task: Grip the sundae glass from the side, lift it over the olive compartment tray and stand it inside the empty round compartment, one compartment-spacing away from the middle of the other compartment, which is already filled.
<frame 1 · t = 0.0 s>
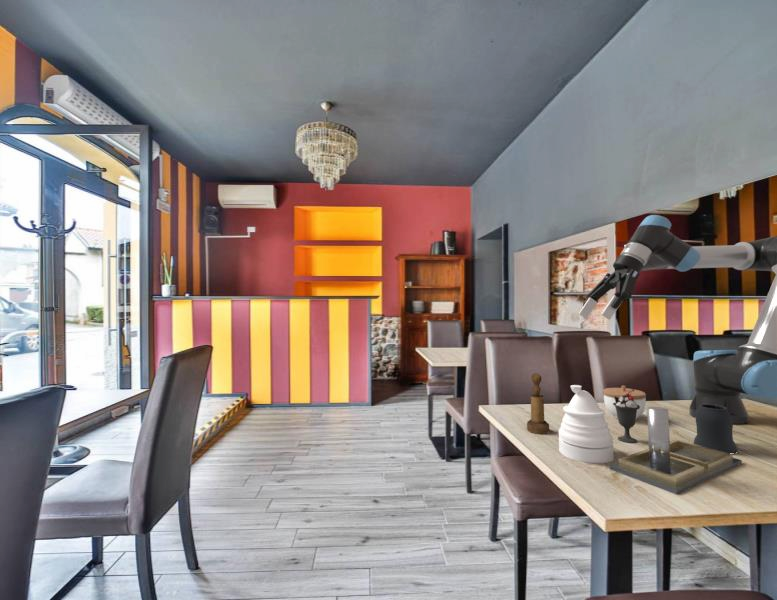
hand: (593, 316, 115), 36 cm above the table, tool tilted 35°, fingers open, 13 cm apart
mug: (716, 447, 101), on the table
honey pot: (585, 454, 99), on the table
sundae: (627, 440, 107), on the table
brown pedestal figurine: (538, 431, 117), on the table
lidded bowl: (624, 418, 128), on the table
olive compartment tray: (676, 466, 89), on the table
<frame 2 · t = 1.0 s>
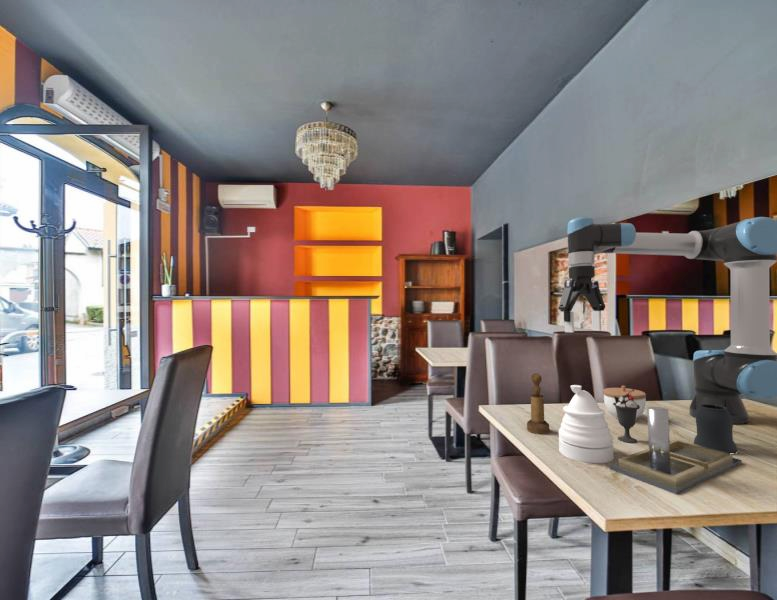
hand: (583, 331, 119), 31 cm above the table, tool pointing down, fingers open, 13 cm apart
nothing on the table moved.
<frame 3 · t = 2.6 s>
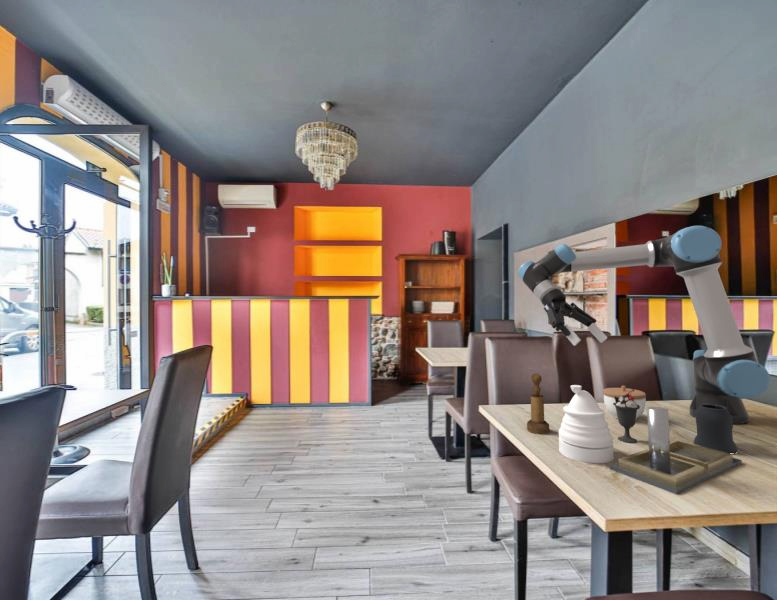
hand: (591, 341, 117), 28 cm above the table, tool tilted 45°, fingers open, 13 cm apart
nothing on the table moved.
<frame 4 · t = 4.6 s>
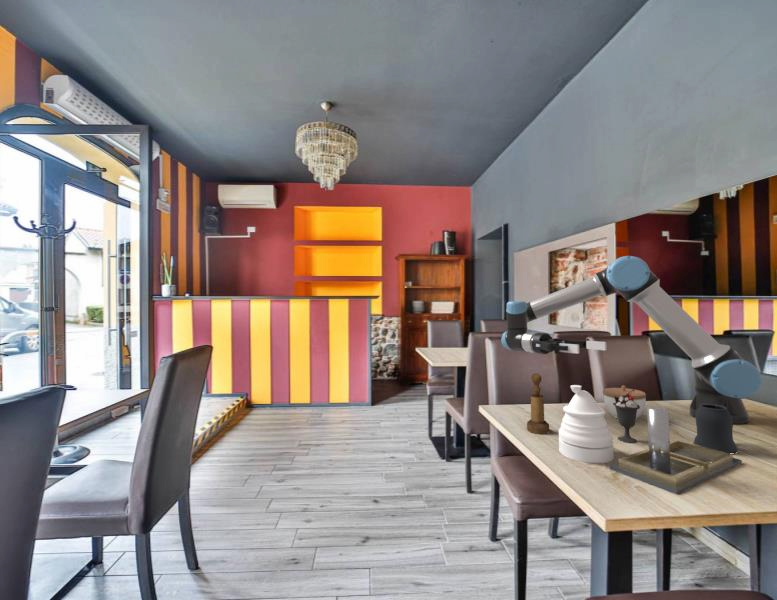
hand: (592, 347, 117), 26 cm above the table, tool horizontal, fingers open, 13 cm apart
nothing on the table moved.
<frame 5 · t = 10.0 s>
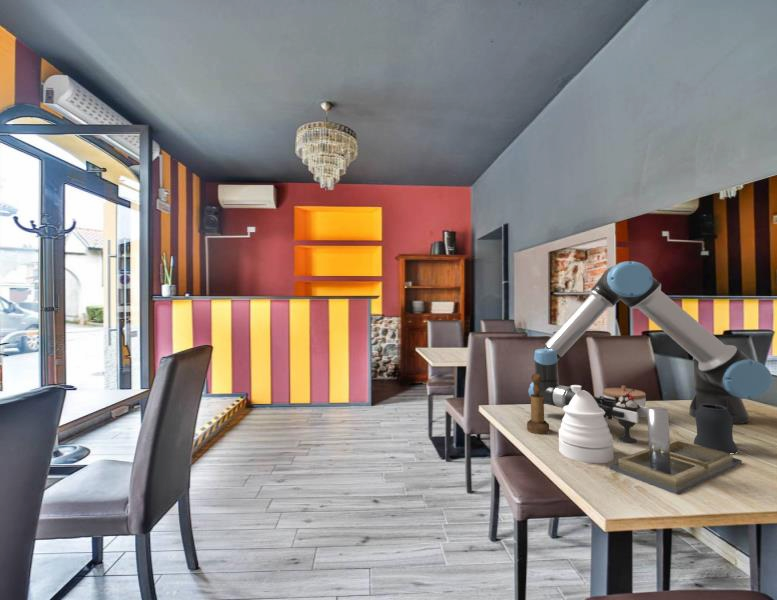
hand: (644, 415, 103), 8 cm above the table, tool horizontal, fingers closed on sundae, 7 cm apart
sundae: (627, 440, 107), on the table, touching gripper
everything else where it was.
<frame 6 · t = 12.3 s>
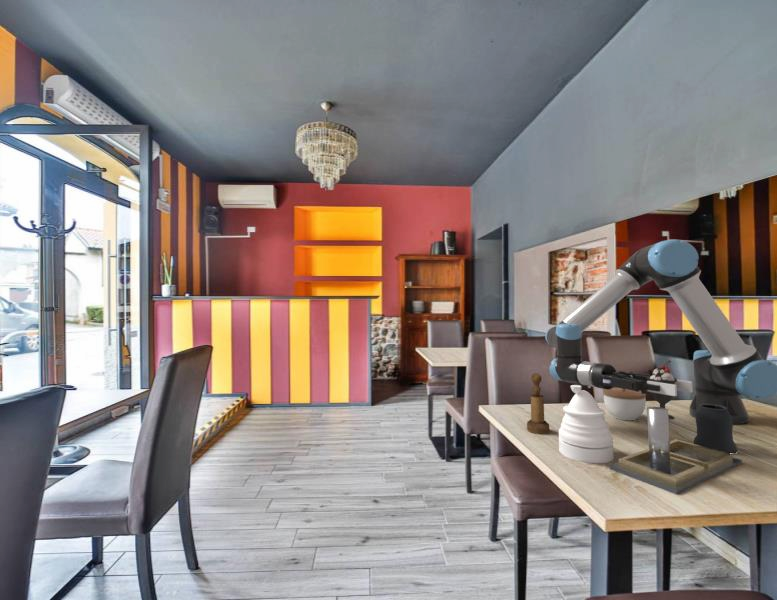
hand: (683, 388, 93), 18 cm above the table, tool horizontal, fingers closed on sundae, 7 cm apart
sundae: (663, 417, 98), point 9 cm above the table, touching gripper
everything else where it was.
when the fingers open (11 cm above the table, at t = 14.9 s): sundae drops 1 cm, resting on olive compartment tray.
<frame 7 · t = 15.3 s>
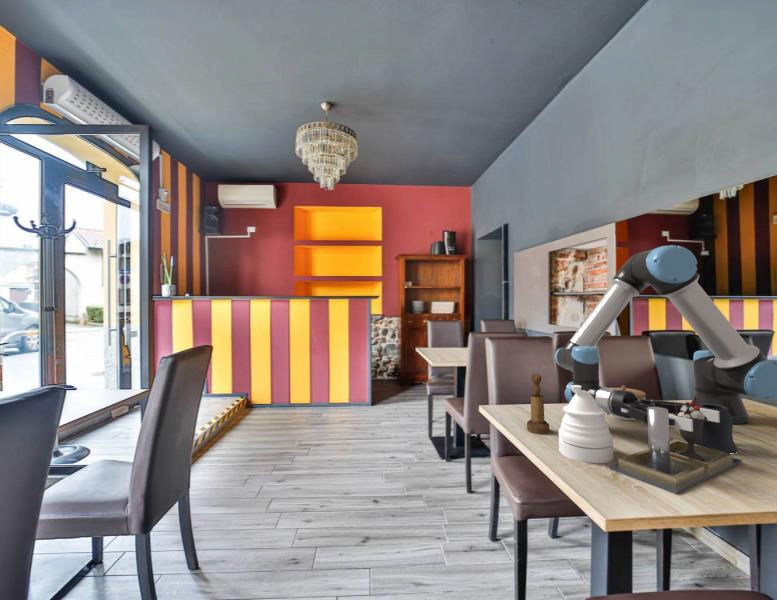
hand: (706, 421, 90), 11 cm above the table, tool horizontal, fingers open, 12 cm apart
sundae: (691, 457, 93), point 1 cm above the table, touching olive compartment tray
everything else where it was.
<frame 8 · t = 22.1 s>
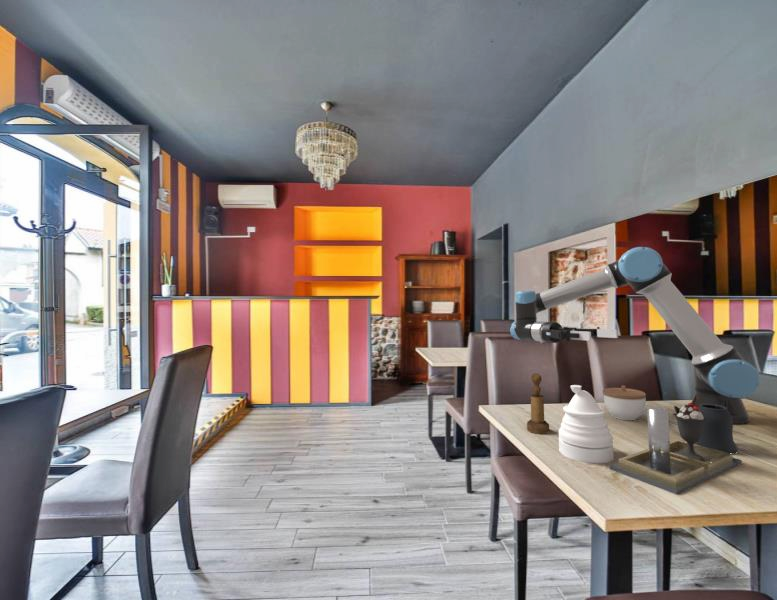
hand: (604, 335, 116), 30 cm above the table, tool horizontal, fingers open, 13 cm apart
nothing on the table moved.
at the end: sundae 0.2 cm from the target spot on the olive compartment tray, point 0.6 cm above the olive compartment tray's base; sundae tilted 0°; the gripper is holding nothing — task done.
